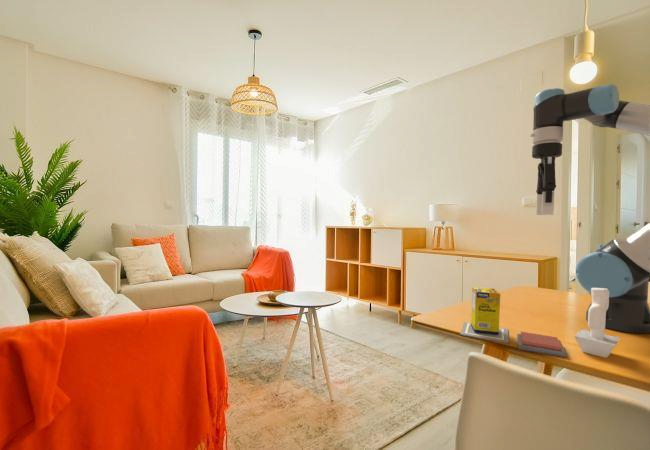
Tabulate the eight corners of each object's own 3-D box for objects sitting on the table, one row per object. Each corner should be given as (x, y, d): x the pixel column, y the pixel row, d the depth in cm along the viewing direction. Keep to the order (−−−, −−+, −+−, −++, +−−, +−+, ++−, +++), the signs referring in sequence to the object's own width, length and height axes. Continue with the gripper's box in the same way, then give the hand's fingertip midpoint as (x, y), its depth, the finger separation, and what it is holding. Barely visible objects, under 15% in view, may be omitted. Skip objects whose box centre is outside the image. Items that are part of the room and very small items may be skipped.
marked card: (507, 329, 92) (507, 328, 92) (508, 343, 82) (508, 341, 82) (464, 323, 97) (464, 321, 97) (460, 335, 87) (460, 333, 87)
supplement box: (499, 335, 87) (501, 293, 86) (474, 332, 88) (475, 291, 88) (494, 327, 92) (495, 288, 92) (470, 325, 94) (472, 286, 93)
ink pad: (559, 345, 82) (560, 337, 82) (565, 357, 75) (566, 348, 74) (517, 338, 86) (517, 330, 86) (518, 349, 79) (519, 340, 79)
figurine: (572, 352, 77) (575, 287, 77) (582, 342, 84) (585, 282, 83) (613, 363, 72) (616, 294, 71) (620, 352, 78) (623, 288, 78)
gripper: (528, 151, 114) (526, 214, 115) (537, 136, 92) (534, 214, 92) (555, 150, 110) (552, 215, 111) (570, 133, 88) (567, 214, 89)
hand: (544, 214), depth 102 cm, fingers open, 13 cm apart
